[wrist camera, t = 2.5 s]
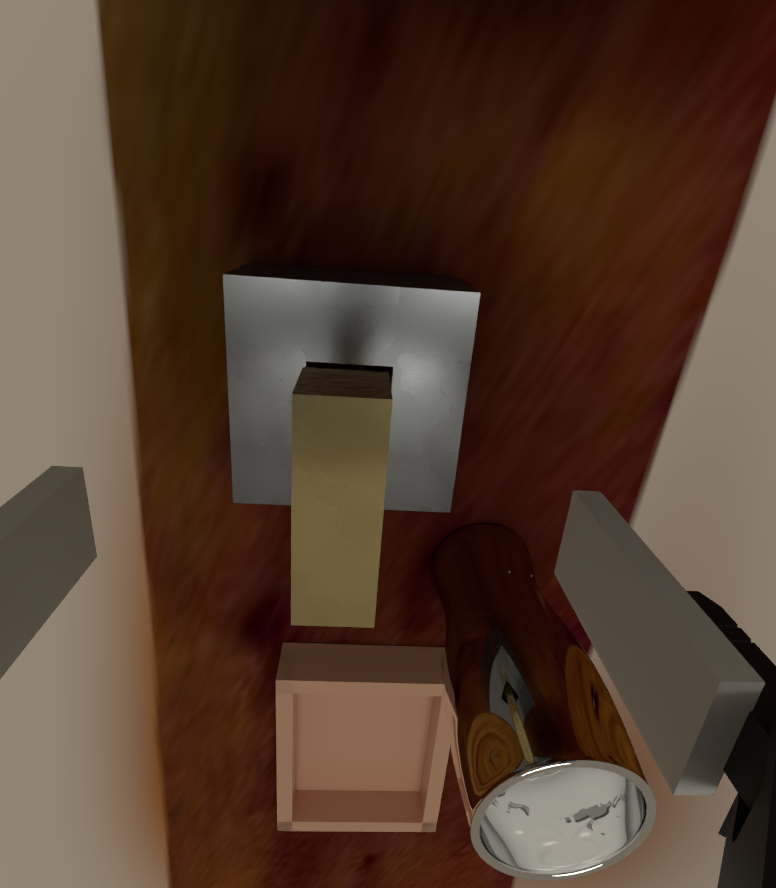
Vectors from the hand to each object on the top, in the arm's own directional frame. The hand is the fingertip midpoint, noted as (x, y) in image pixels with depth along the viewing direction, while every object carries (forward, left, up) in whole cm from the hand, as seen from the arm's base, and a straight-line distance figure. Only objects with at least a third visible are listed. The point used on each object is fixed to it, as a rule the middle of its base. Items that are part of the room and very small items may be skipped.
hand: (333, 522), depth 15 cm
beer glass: (+11, +8, -14) cm, 20 cm away
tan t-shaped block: (0, 0, -14) cm, 14 cm away
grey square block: (0, 0, -14) cm, 14 cm away
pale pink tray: (+25, +2, -14) cm, 28 cm away
